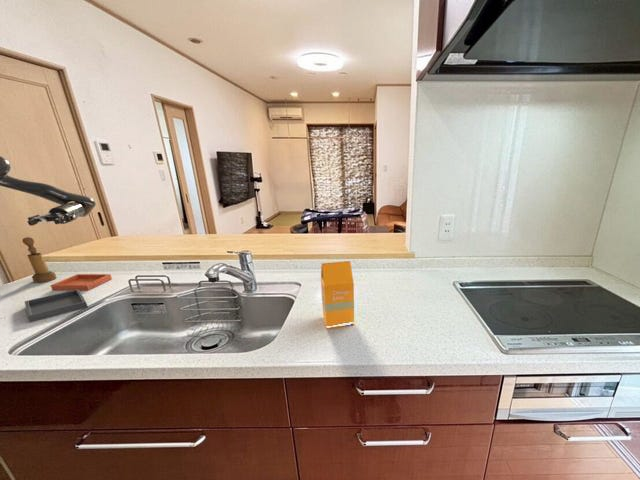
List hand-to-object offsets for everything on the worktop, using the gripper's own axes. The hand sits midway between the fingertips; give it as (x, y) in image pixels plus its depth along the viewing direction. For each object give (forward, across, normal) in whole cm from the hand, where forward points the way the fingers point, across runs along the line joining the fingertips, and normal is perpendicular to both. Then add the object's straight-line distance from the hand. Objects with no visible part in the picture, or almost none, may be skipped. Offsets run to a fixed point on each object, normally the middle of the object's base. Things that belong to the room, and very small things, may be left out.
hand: (42, 222), depth 123 cm
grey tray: (+42, +18, +20) cm, 50 cm away
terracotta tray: (+21, +16, +21) cm, 34 cm away
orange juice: (+80, +108, +18) cm, 136 cm away
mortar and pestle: (+11, -1, +21) cm, 24 cm away
